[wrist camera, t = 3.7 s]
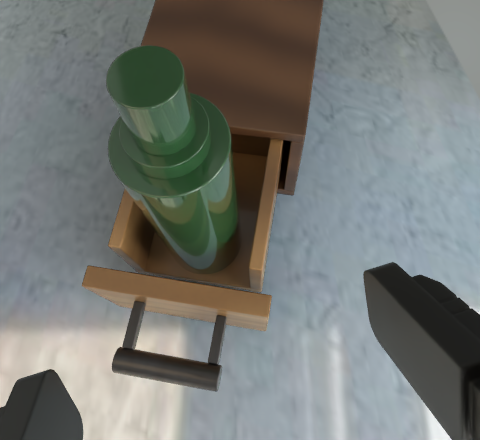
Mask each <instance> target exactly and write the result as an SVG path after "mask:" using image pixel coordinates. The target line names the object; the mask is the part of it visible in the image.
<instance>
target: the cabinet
mask: <svg viewBox="0 0 480 440" xmlns="http://www.w3.org/2000/svg"><path fill="white" fill-rule="evenodd" d="M323 1H324V0H155V3H154V7H153V10H152V13H151V16H150V19H149V22H148V25H147V28H146V31H145V34H144V37H143V40H142V43H141V46H147V45H152V46H159V47H163V48H166V49H168V50H170V51H171V52H173V53H174V54H175V55H176V56H177V57H178V58H179V59H180V61H181V62H182V64H183V67H184V71H185V75H186V80H187V84H188V88H189V92H190V93H193V94H197V95H199V96H201V97H204V98H205V99H207V100H209V101H210V102H211V103H213V104H214V105H215V106H216V107H217V108H218V109H219V110H220V111H221V112H222V114H223V115H224V117H225V118H226V120H227V122H228V125H229V128H230V133H232V134H240V135H248V136H256V137H264V138H272V139H279V140H284V148H283V157H282V163H281V170H280V176H279V183H278V189H277V193H279V194H287V195H294V191H295V186H296V181H297V176H298V171H299V166H300V160H301V155H302V150H303V145H304V140H305V135H306V127H307V120H308V113H309V105H310V98H311V90H312V83H313V75H314V68H315V61H316V53H317V46H318V38H319V31H320V24H321V16H322V9H323ZM120 116H121V115H120Z"/></svg>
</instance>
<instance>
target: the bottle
mask: <svg viewBox="0 0 480 440" xmlns="http://www.w3.org/2000/svg"><path fill="white" fill-rule="evenodd" d="M106 86H107V90H108V92H109V94H110V96H111V98H112V100H113V102H114V104H115V106H116V108H117V110H118V112H119V114H120V115H121V116H120V117H119V118H118V120H117V121H116V123H115V125H114V127H113V129H112V131H111V134H110V138H109V144H108V156H109V161H110V164H111V167H112V169H113V171H114V173H115V174H116V176H117V177H118V179H119V180H120V182H121V183H122V185H123V186H124V187H125V189H126V190H127V192H128V193H129V195H130V196H131V198H132V199H133V200H134V202H135V203H136V205H137V206H138V208H139V209H140V211H141V212H142V213H143V215H144V216H145V218H146V219H147V221H148V222H149V223H150V225H151V226H152V228H153V229H154V231H155V232H156V234H157V235H158V236H159V238H160V239H161V241H162V242H163V244H164V245H165V247H166V248H167V249H168V251H169V252H170V254H171V255H172V257H173V258H174V259H175V261H176V262H177V263H178V264H179V265H180V266H181V267H182V268H184V269H185V270H187V271H189V272H192V273H196V274H212V273H216V272H219V271H221V270H223V269H224V268H226V267H227V266H229V265H230V264H231V263H232V262H233V261H234V259H235V258H236V257H237V255H238V253H239V250H240V248H241V243H242V233H241V223H240V214H239V205H238V196H237V186H236V177H235V168H234V159H233V150H232V140H231V133H230V128H229V125H228V122H227V120H226V118H225V117H224V115H223V114H222V112H221V111H220V110H219V109H218V108H217V107H216V106H215V105H214V104H213V103H211V102H210V101H209V100H207V99H205V98H204V97H201V96H199V95H197V94H193V93H190V92H189V88H188V84H187V80H186V75H185V71H184V67H183V64H182V62H181V61H180V59H179V58H178V57H177V56H176V55H175V54H174V53H173V52H171V51H170V50H168V49H166V48H163V47H159V46H152V45H147V46H139V47H135V48H132V49H130V50H128V51H126V52H124V53H123V54H121V55H120V56H119V57H117V58H116V59H115V60H114V62H113V63H112V64H111V66H110V68H109V70H108V73H107V77H106Z"/></svg>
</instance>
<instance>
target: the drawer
mask: <svg viewBox="0 0 480 440" xmlns="http://www.w3.org/2000/svg"><path fill="white" fill-rule="evenodd" d="M231 140H232V150H233V159H234V168H235V177H236V186H237V196H238V205H239V214H240V223H241V233H242V243H241V248H240V250H239V253H238V255H237V257H236V258H235V259H234V261H233V262H232V263H231V264H230V265H229V266H227V267H226V268H224V269H223V270H221V271H219V272H216V273H212V274H196V273H192V272H189V271H187V270H185V269H184V268H182V267H181V266H180V265H179V264H178V263H177V262H176V261H175V259H174V258H173V257H172V255H171V254H170V252H169V251H168V249H167V248H166V247H165V245H164V244H163V242H162V241H161V239H160V238H159V236H158V235H157V234H156V232H155V231H154V229H153V228H152V226H151V225H150V223H149V222H148V221H147V219H146V218H145V216H144V215H143V213H142V212H141V211H140V209H139V208H138V206H137V205H136V203H135V202H134V200H133V199H132V198H131V196H130V195H129V193H128V192H127V190H126V189H125V190H124V193H123V197H122V200H121V203H120V207H119V210H118V213H117V217H116V220H115V223H114V227H113V230H112V234H111V237H110V240H109V244H108V246H109V247H110V248H111V249H112V250H113V251H114V252H115V253H116V254H118V255H119V256H120V257H121V258H122V259H123V260H124V261H125V262H127V263H128V264H129V265H130V266H131V267H132V268H133V269H135V270H136V271H137V272H139V273H145V274H151V275H157V276H163V277H169V278H175V279H182V280H188V281H194V282H200V283H206V284H212V285H218V286H224V287H231V288H237V289H243V290H249V291H255V292H262V286H263V280H264V273H265V267H266V260H267V254H268V247H269V241H270V235H271V228H272V222H273V215H274V209H275V202H276V196H277V189H278V183H279V176H280V170H281V163H282V157H283V148H284V140H279V139H272V138H264V137H256V136H248V135H240V134H232V133H231ZM82 286H83V287H85V288H86V289H88V290H90V291H92V292H94V293H96V294H98V295H100V296H102V297H103V298H105V299H107V300H109V301H111V302H113V303H115V304H117V305H119V306H121V307H127V308H132V312H131V316H130V319H129V323H128V327H127V331H126V335H125V339H124V342H123V347H124V348H123V347H119V348H118V349H117V351H116V353H115V355H114V358H113V363H112V371H113V372H114V373H120V374H125V375H130V376H136V377H141V378H146V379H151V380H157V381H162V382H167V383H173V384H178V385H183V386H188V387H194V388H199V389H204V390H210V391H215V392H217V391H218V388H219V384H220V379H221V373H222V366H221V365H218V364H219V361H220V356H221V350H222V344H223V339H224V333H225V328H226V325H231V326H237V327H243V328H249V329H255V330H260V331H266V329H267V324H268V318H269V312H270V305H271V298H272V296H271V295H266V294H260V293H254V292H248V291H242V290H235V289H229V288H223V287H217V286H211V285H205V284H199V283H193V282H186V281H180V280H174V279H168V278H162V277H156V276H150V275H144V274H138V273H131V272H125V271H119V270H113V269H107V268H101V267H95V266H87V270H86V273H85V276H84V279H83V283H82ZM144 311H150V312H156V313H162V314H168V315H173V316H179V317H185V318H191V319H197V320H202V321H208V322H214V323H215V326H214V332H213V337H212V342H211V348H210V353H209V358H208V363H206V362H200V361H195V360H189V359H184V358H178V357H173V356H167V355H162V354H156V353H151V352H145V351H140V350H134V349H135V346H136V342H137V338H138V334H139V330H140V326H141V322H142V318H143V314H144Z"/></svg>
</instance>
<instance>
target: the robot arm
mask: <svg viewBox="0 0 480 440" xmlns="http://www.w3.org/2000/svg"><path fill="white" fill-rule="evenodd" d="M364 285H365V292H366V300H367V307H368V314H369V320H370V324H371V327H372V330H373V332H374V335H375V337H376V338H377V340H378V342H379V343H380V344H381V346H382V347H383V348H384V350H385V351H386V352H387V354H388V355H389V356H390V358H391V359H392V360H393V362H394V363H395V364H396V366H397V367H398V368H399V370H400V371H401V372H402V374H403V375H404V376H405V378H406V379H407V380H408V382H409V383H410V384H411V386H412V387H413V388H414V390H415V391H416V392H417V394H418V395H419V396H420V398H421V399H422V400H423V402H424V403H425V404H426V406H427V407H428V408H429V410H430V411H431V412H432V414H433V415H434V416H435V418H436V419H437V420H438V422H439V423H440V424H441V426H442V427H443V428H444V430H445V431H446V432H447V434H448V435H449V436H450V438H451V439H452V440H480V315H479V314H478V313H477V312H476V311H474V310H473V309H470V308H469V306H468V305H467V304H466V303H465V302H463V301H462V300H461V299H460V298H457V297H456V295H455V294H454V293H453V292H451V291H450V290H449V289H448V288H447V287H445V286H444V285H443V284H442V283H440V282H438V281H435V280H433V279H430V278H428V277H425V276H423V275H417V276H414V277H411V276H409V275H408V274H407V273H406V272H405V271H404V270H403V269H402V268H401V267H399V266H398V265H397V264H396V263H394V262H391V263H388V264H385V265H382V266H379V267H376V268H372V269H369V270H366V271H365V272H364ZM0 440H83V424H82V419H81V416H80V413H79V411H78V409H77V407H76V406H75V404H74V402H73V400H72V399H71V397H70V395H69V393H68V392H67V390H66V388H65V386H64V385H63V383H62V381H61V379H60V378H59V376H58V374H57V373H56V372H55V371H54V370H52V369H49V370H46V371H43V372H40V373H37V374H34V375H30V376H27V377H24V378H21V379H19V380H17V381H16V383H15V385H14V387H13V389H12V392H11V394H10V396H9V399H8V401H7V403H6V406H4V407H1V408H0Z"/></svg>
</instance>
